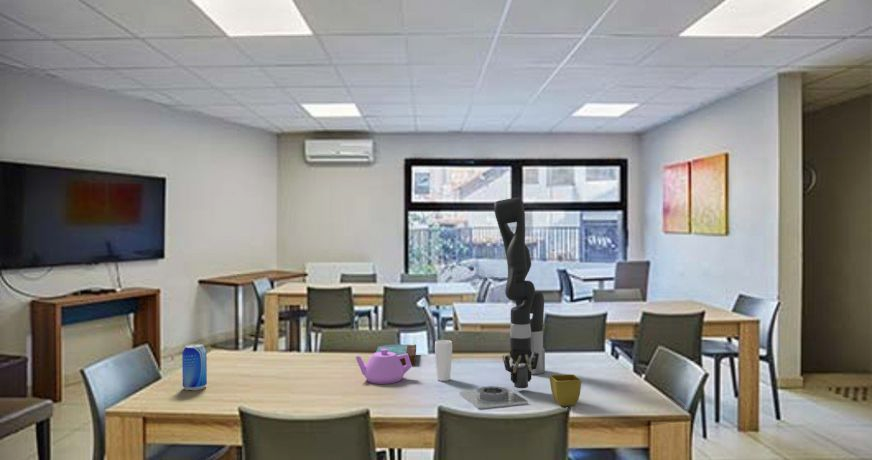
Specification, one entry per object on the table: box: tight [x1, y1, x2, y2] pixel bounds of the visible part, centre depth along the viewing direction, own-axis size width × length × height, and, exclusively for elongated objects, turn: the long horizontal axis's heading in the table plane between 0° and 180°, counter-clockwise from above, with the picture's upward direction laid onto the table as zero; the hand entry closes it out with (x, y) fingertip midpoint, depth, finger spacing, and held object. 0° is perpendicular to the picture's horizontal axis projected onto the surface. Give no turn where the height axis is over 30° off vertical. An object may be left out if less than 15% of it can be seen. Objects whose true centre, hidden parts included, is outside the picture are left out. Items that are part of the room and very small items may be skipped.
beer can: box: [181, 343, 208, 391], centre depth 227 cm, size 8×8×16 cm
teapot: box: [355, 349, 413, 385], centre depth 238 cm, size 22×16×12 cm
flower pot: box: [549, 373, 582, 407], centre depth 205 cm, size 9×9×9 cm
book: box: [375, 344, 417, 366], centre depth 272 cm, size 23×18×5 cm
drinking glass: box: [434, 339, 453, 382], centre depth 237 cm, size 7×7×15 cm
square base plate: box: [459, 385, 529, 410], centre depth 211 cm, size 18×18×3 cm
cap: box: [513, 365, 529, 389], centre depth 221 cm, size 5×5×7 cm
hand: (521, 381), depth 221 cm, fingers closed on cap, 5 cm apart
